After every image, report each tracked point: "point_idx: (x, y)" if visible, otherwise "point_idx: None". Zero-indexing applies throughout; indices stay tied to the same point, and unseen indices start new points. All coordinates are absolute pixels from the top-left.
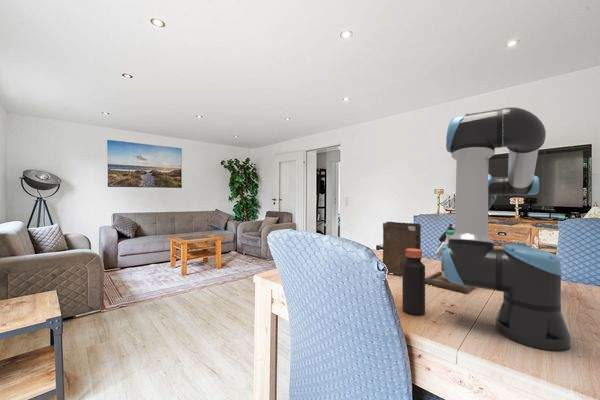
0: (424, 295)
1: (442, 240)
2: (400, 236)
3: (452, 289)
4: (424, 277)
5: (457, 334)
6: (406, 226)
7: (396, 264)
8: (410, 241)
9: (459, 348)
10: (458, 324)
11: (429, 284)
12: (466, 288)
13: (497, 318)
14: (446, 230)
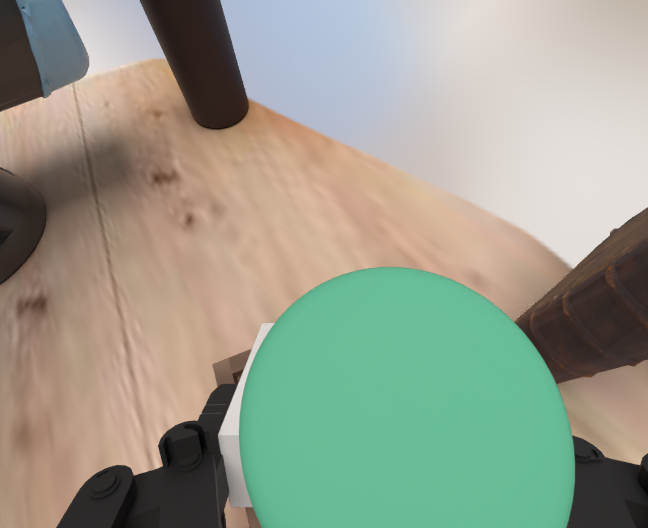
0: (172, 71)
1: (578, 447)
2: None
3: None
4: (145, 11)
5: (95, 114)
6: None
7: (609, 242)
8: None
9: (71, 86)
10: (114, 145)
11: None
12: (216, 363)
13: (13, 177)
14: (484, 304)
